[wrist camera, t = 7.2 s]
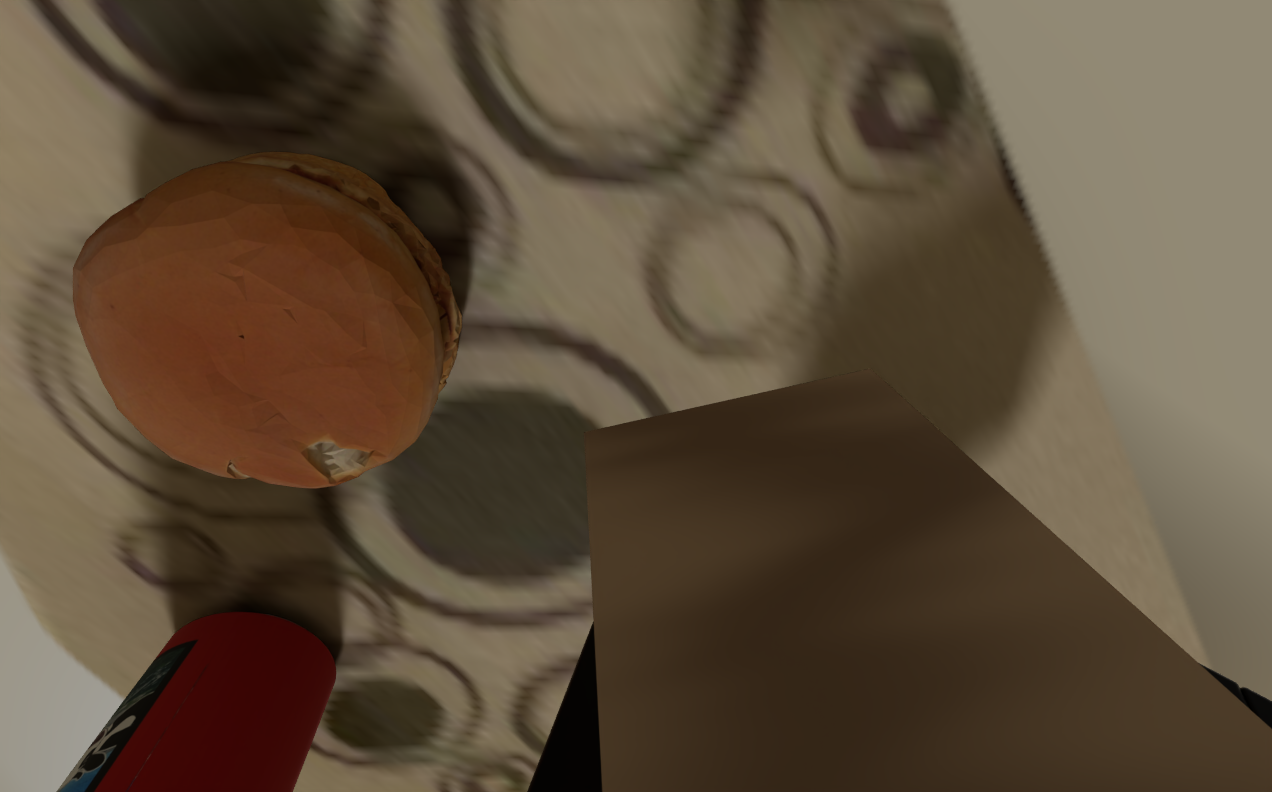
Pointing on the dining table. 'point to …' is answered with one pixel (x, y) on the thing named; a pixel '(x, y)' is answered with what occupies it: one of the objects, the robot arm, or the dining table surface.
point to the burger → (269, 319)
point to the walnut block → (870, 619)
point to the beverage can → (216, 712)
